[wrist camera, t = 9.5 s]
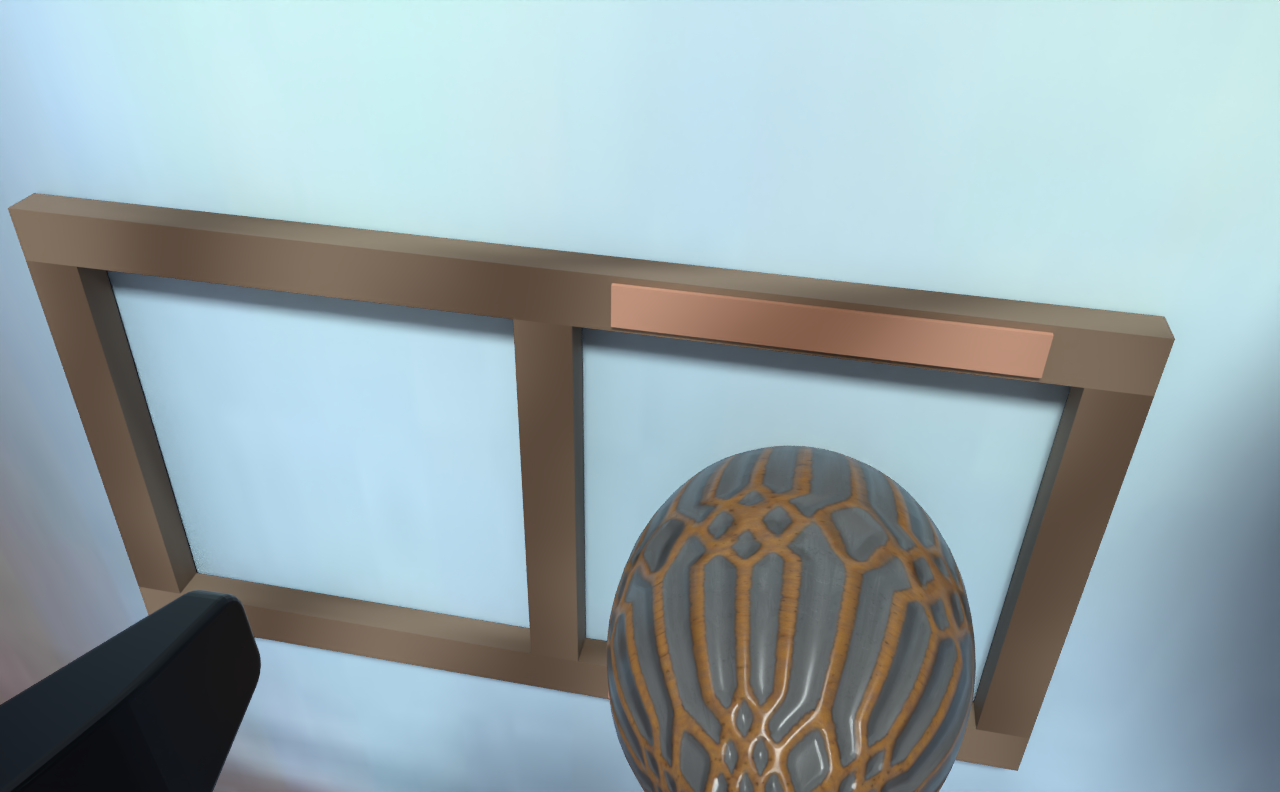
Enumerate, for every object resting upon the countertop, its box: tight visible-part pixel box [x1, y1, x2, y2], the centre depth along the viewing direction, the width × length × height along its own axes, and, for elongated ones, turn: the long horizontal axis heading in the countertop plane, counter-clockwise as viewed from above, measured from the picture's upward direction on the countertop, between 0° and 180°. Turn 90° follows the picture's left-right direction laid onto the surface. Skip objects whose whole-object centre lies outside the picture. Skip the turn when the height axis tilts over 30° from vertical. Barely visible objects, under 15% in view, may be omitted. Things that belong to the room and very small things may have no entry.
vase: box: [607, 446, 976, 792], centre depth 19 cm, size 7×7×9 cm
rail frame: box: [8, 193, 1175, 771], centre depth 23 cm, size 23×12×1 cm, turn 88°
